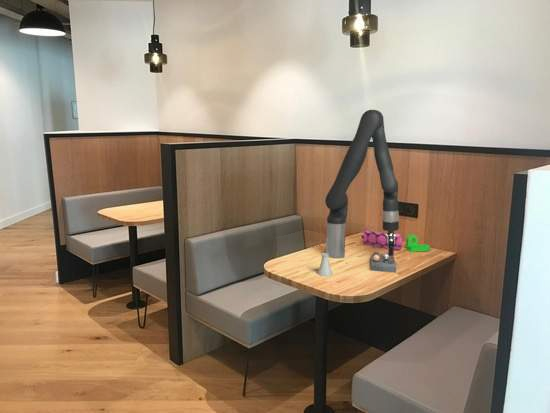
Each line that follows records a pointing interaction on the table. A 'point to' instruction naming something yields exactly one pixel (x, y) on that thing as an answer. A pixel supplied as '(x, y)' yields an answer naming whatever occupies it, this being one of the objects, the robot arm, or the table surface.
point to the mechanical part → (415, 244)
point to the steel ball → (386, 256)
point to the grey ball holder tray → (383, 264)
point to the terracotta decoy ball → (376, 258)
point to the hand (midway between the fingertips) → (391, 255)
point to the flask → (325, 266)
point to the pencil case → (380, 239)
